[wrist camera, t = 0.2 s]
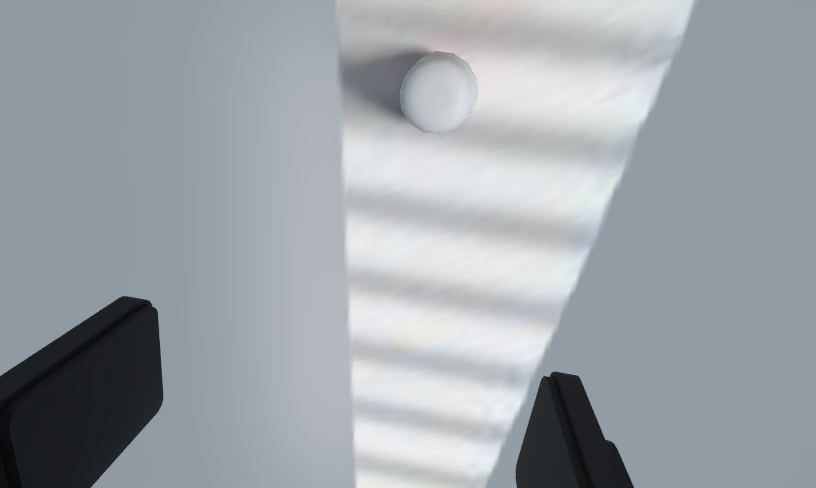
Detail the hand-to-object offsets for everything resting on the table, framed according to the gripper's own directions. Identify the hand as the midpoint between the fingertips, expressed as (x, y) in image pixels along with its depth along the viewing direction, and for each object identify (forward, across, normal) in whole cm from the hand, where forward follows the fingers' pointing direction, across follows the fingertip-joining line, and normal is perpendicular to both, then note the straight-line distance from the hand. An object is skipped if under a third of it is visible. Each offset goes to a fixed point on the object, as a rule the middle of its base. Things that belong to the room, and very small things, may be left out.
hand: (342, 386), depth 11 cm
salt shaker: (+31, 0, -6) cm, 32 cm away
